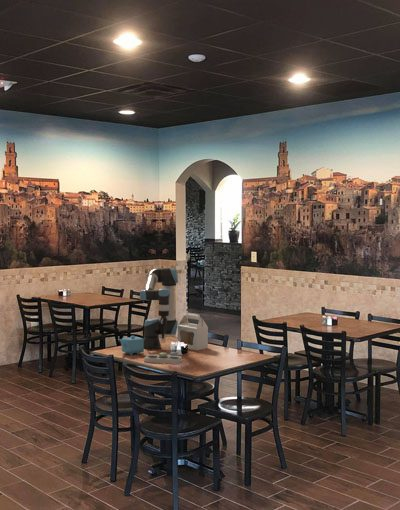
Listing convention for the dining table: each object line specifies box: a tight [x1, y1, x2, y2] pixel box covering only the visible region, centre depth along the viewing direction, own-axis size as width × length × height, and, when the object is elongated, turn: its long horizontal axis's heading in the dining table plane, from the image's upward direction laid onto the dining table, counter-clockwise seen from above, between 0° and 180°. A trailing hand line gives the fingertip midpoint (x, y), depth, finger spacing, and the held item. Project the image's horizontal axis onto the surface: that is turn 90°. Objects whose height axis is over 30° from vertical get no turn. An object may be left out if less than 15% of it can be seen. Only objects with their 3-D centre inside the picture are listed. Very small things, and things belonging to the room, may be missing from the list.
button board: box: [143, 354, 183, 365], centre depth 465 cm, size 12×25×3 cm, turn 80°
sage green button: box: [158, 352, 168, 356], centre depth 465 cm, size 6×6×2 cm
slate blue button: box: [169, 351, 179, 356], centre depth 464 cm, size 6×6×2 cm
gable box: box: [177, 311, 209, 351], centre depth 520 cm, size 22×13×28 cm, turn 46°
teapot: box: [117, 335, 145, 356], centre depth 490 cm, size 22×11×14 cm, turn 123°
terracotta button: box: [147, 350, 158, 355], centre depth 466 cm, size 6×6×2 cm
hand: (163, 342), depth 465 cm, fingers closed
